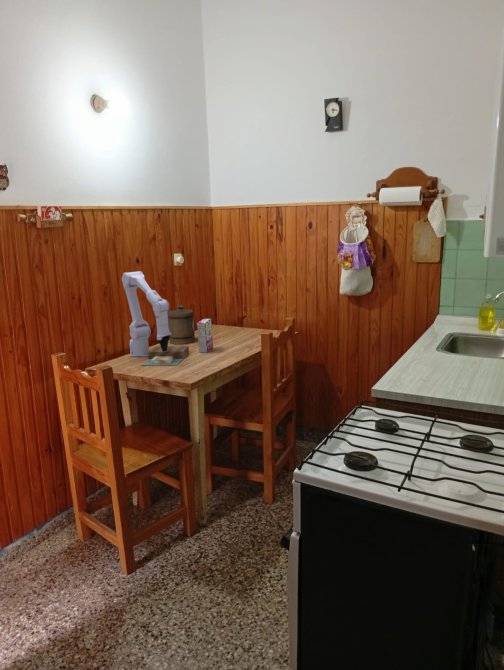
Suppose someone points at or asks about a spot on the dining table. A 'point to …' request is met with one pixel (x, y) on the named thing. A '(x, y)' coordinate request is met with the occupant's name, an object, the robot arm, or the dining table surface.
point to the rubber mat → (173, 363)
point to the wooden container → (181, 326)
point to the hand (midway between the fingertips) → (164, 350)
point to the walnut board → (170, 352)
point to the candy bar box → (205, 335)
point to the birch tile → (162, 359)
